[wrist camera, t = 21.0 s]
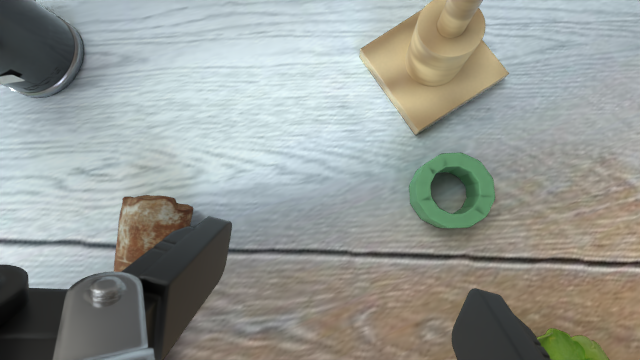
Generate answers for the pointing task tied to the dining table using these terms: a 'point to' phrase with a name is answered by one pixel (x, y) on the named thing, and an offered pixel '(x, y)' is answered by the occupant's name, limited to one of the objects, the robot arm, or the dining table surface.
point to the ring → (471, 176)
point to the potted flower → (570, 346)
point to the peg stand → (434, 61)
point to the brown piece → (147, 225)
